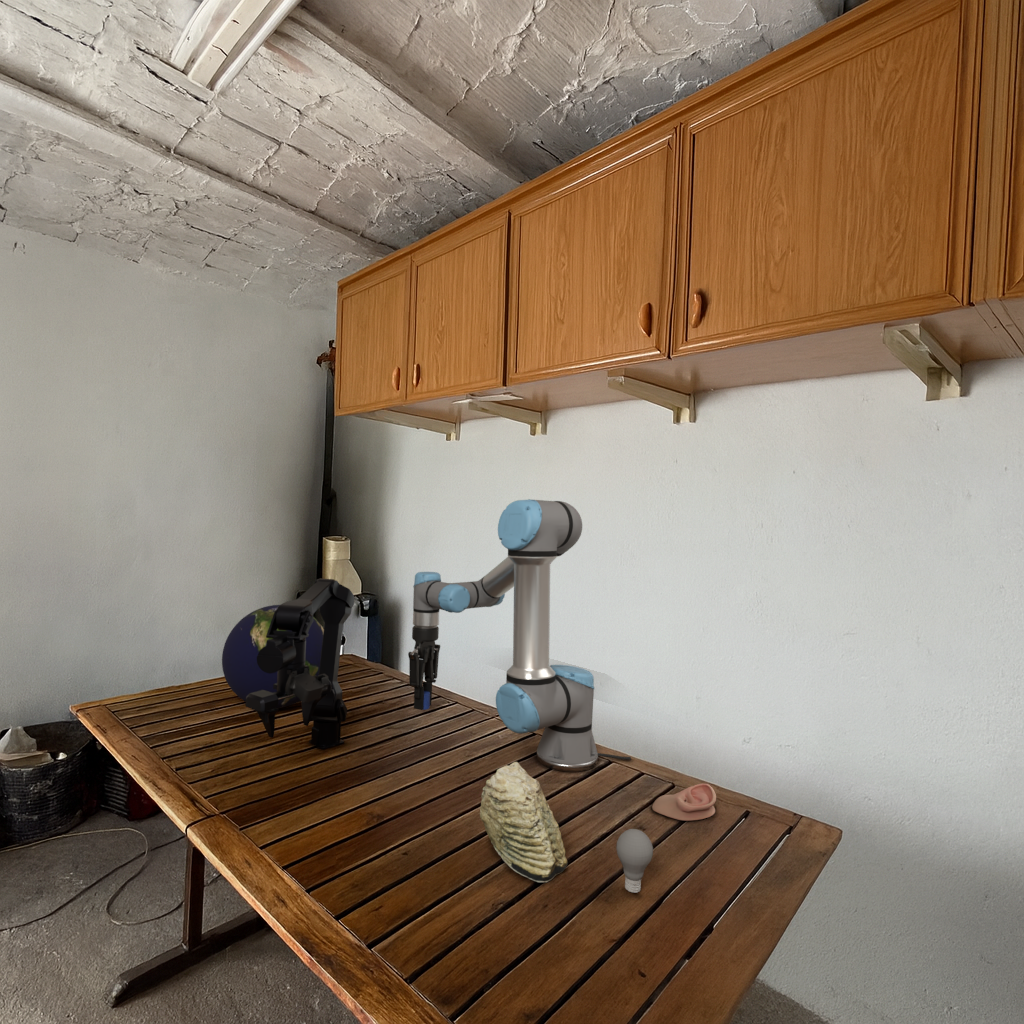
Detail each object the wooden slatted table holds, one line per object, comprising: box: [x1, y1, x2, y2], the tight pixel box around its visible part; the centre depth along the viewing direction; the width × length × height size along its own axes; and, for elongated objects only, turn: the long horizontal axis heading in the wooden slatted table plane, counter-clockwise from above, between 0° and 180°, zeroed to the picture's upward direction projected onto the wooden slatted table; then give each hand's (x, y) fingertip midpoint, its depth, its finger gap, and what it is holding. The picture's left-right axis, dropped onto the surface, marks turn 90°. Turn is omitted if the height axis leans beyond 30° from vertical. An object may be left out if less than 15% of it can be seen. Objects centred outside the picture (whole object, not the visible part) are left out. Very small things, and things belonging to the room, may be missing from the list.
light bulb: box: [615, 828, 654, 894], centre depth 106 cm, size 6×6×10 cm
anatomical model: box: [651, 783, 717, 822], centre depth 135 cm, size 13×4×12 cm
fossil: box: [479, 761, 569, 883], centre depth 114 cm, size 9×18×15 cm, turn 46°
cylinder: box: [422, 691, 431, 711], centre depth 182 cm, size 4×4×4 cm
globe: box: [221, 604, 324, 709], centre depth 188 cm, size 30×30×30 cm
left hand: (289, 731), depth 140 cm, fingers open, 9 cm apart
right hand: (422, 706), depth 182 cm, fingers closed on cylinder, 3 cm apart
